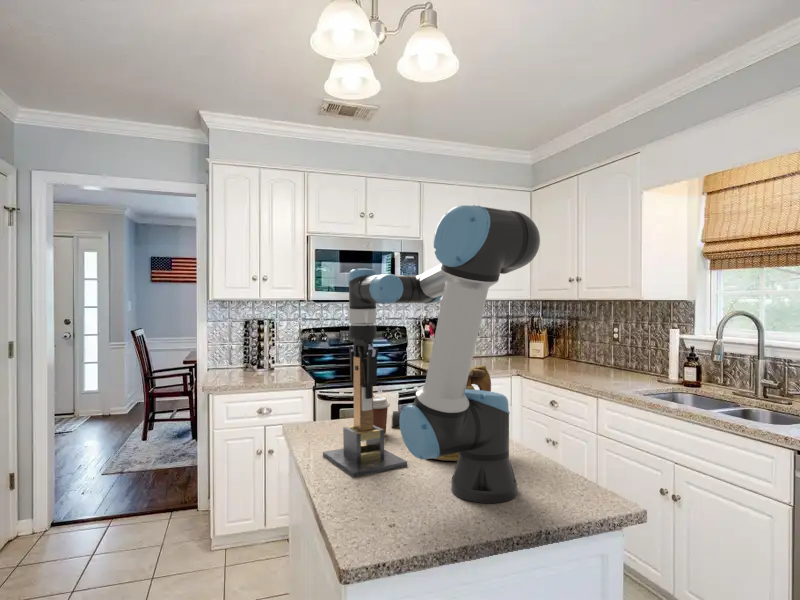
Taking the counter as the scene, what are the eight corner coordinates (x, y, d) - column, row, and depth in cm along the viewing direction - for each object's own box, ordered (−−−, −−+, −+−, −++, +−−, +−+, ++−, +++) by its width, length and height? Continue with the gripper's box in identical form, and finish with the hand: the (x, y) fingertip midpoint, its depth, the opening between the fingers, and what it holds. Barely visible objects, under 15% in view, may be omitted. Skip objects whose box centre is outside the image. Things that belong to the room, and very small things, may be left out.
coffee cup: (357, 433, 162) (357, 398, 162) (379, 429, 168) (379, 394, 168) (372, 439, 155) (372, 402, 155) (395, 435, 160) (395, 398, 160)
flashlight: (434, 424, 174) (434, 409, 174) (435, 428, 169) (435, 413, 169) (392, 424, 175) (392, 409, 175) (391, 428, 169) (391, 413, 169)
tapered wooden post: (373, 429, 134) (372, 356, 134) (359, 431, 131) (359, 357, 131) (366, 425, 137) (366, 355, 137) (353, 428, 135) (352, 356, 135)
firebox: (407, 465, 130) (406, 432, 130) (353, 477, 121) (353, 441, 121) (372, 447, 147) (371, 417, 147) (323, 456, 138) (322, 424, 138)
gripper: (389, 325, 129) (390, 412, 129) (361, 323, 144) (361, 401, 143) (364, 326, 125) (365, 416, 125) (337, 323, 140) (338, 404, 140)
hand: (363, 408), depth 134 cm, fingers closed on tapered wooden post, 4 cm apart
